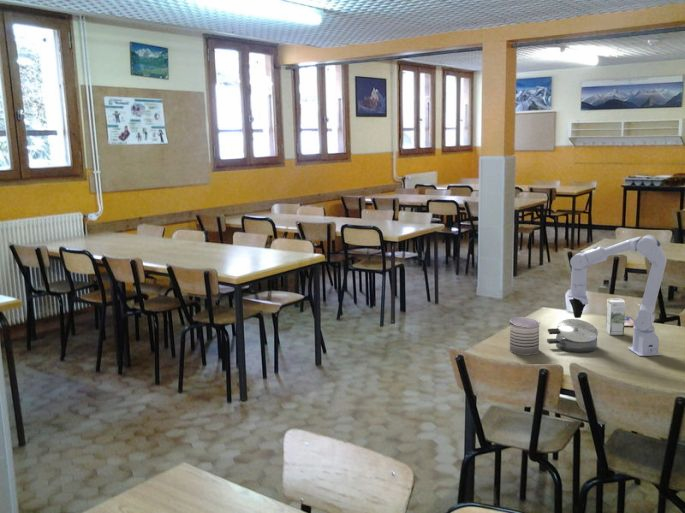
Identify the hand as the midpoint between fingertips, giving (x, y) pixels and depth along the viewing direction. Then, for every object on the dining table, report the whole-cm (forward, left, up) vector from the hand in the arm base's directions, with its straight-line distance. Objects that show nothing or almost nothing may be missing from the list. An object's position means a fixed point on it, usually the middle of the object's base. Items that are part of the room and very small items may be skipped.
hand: (577, 317), depth 258 cm
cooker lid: (-5, +4, -4) cm, 8 cm away
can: (-6, +23, -11) cm, 26 cm away
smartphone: (+24, -32, -11) cm, 41 cm away
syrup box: (+9, -20, -11) cm, 24 cm away
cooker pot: (-5, +4, -11) cm, 12 cm away
